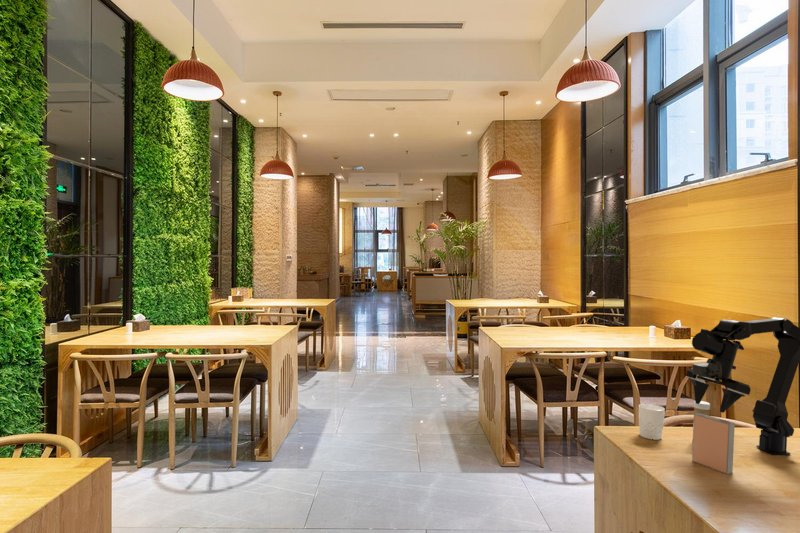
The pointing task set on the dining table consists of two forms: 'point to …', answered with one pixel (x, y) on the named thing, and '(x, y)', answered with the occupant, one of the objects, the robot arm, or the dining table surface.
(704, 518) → the dining table surface
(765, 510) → the dining table surface
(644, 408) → the white cup
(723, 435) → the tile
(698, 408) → the sprinkles bottle
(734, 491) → the dining table surface
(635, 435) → the dining table surface
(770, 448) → the robot arm
